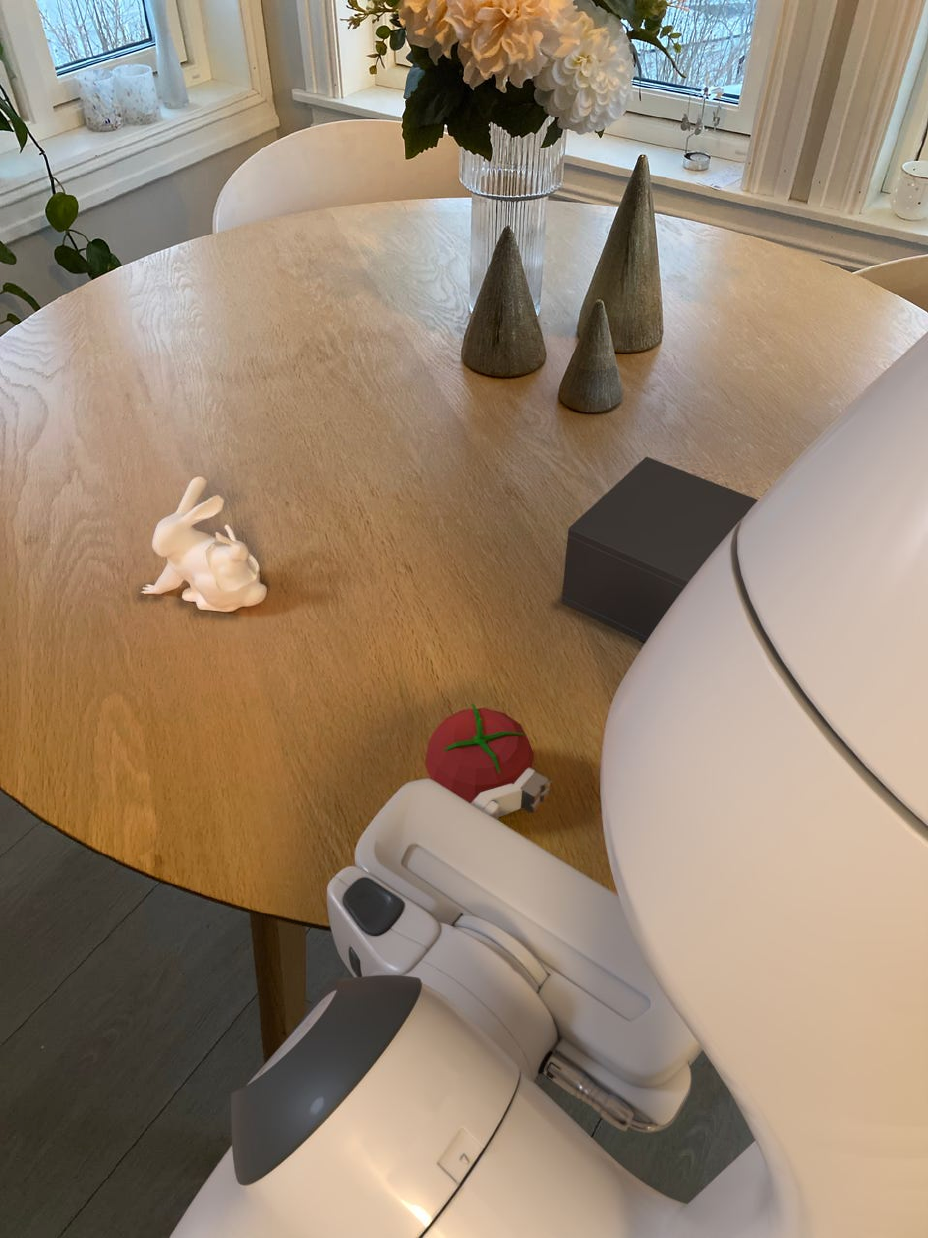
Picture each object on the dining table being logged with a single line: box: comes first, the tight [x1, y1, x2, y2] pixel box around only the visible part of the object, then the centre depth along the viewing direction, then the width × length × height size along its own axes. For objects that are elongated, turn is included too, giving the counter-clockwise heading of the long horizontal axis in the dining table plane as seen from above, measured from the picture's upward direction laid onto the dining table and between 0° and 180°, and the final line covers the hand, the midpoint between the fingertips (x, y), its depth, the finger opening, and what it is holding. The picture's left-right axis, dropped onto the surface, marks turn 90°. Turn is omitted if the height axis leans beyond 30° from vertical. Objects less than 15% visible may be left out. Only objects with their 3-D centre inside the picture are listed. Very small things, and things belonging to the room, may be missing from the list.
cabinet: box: [560, 456, 759, 644], centre depth 85 cm, size 17×14×9 cm
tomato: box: [424, 702, 535, 803], centre depth 69 cm, size 8×8×8 cm
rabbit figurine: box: [140, 476, 268, 613], centre depth 85 cm, size 12×8×10 cm, turn 67°
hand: (610, 820), depth 54 cm, fingers open, 8 cm apart
